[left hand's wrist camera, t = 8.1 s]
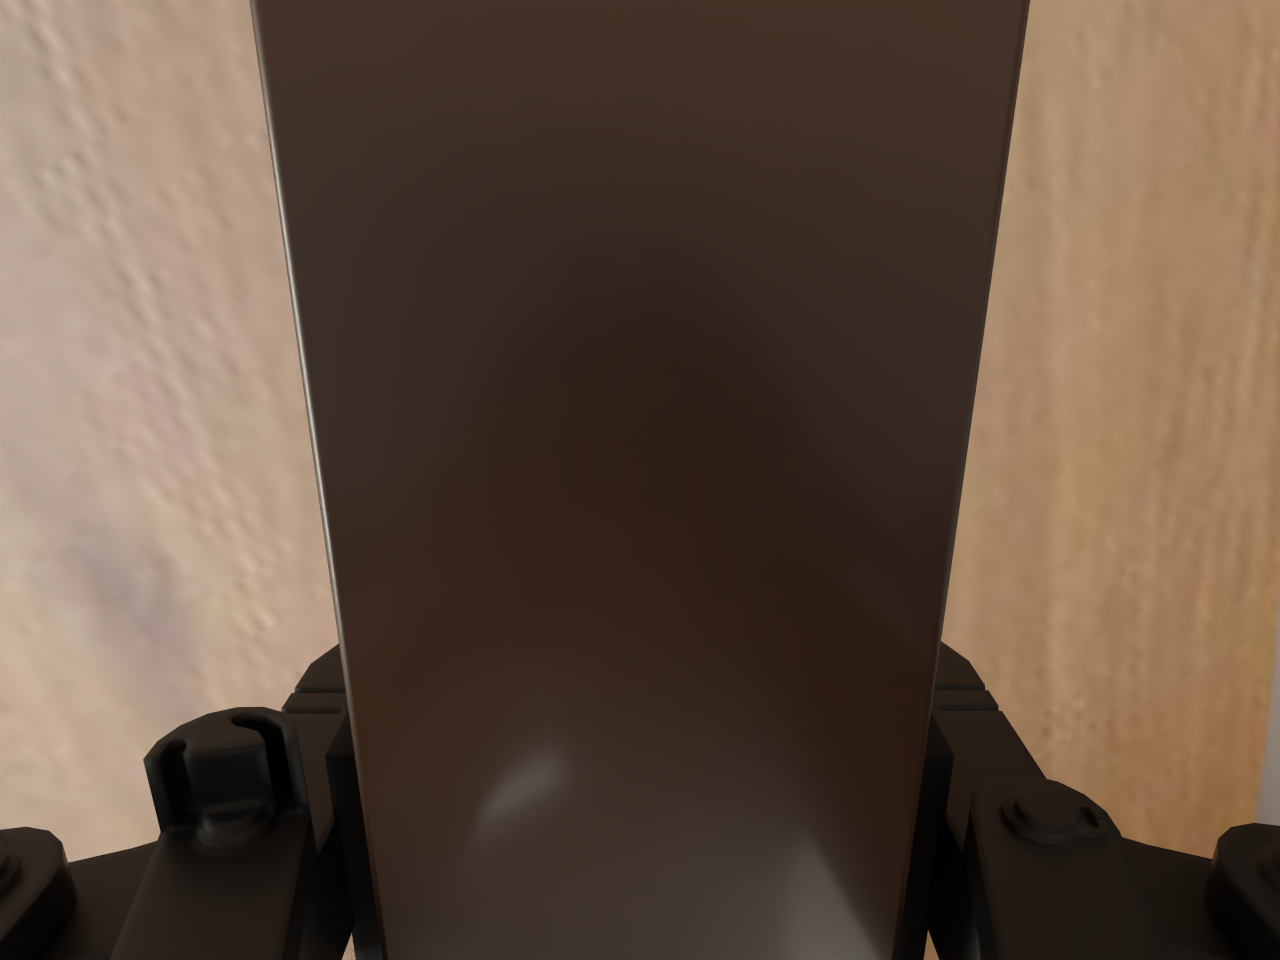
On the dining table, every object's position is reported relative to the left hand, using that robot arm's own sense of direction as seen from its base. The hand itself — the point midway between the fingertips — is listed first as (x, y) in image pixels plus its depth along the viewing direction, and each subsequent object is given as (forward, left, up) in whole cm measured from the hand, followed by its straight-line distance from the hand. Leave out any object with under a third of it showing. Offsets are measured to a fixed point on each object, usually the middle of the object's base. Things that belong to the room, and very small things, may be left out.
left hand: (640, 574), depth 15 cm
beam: (+10, 0, 0) cm, 10 cm away
